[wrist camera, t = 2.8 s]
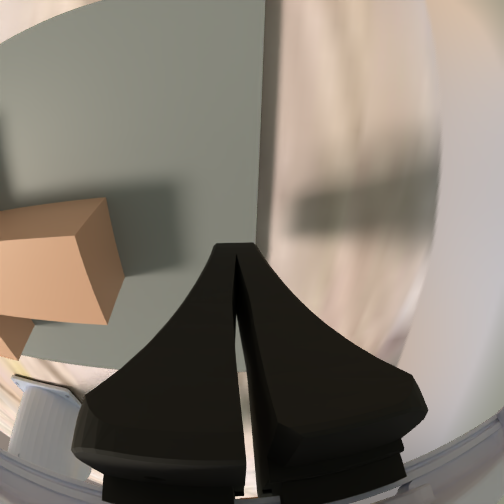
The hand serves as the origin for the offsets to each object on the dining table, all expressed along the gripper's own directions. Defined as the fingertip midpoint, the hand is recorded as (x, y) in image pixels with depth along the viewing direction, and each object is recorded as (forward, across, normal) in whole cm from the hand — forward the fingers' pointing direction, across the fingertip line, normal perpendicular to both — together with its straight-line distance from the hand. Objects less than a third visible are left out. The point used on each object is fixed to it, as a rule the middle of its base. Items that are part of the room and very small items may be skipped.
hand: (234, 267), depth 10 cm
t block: (+2, +11, 0) cm, 11 cm away
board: (+3, +16, 0) cm, 16 cm away
